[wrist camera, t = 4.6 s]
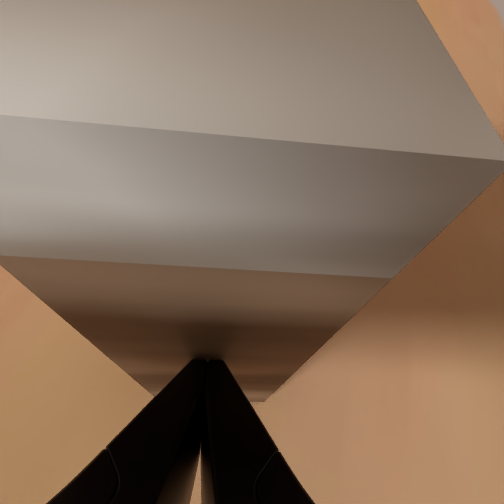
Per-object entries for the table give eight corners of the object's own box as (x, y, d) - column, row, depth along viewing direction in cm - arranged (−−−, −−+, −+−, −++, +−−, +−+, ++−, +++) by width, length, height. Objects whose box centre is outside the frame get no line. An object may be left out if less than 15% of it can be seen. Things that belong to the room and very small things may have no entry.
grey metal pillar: (263, 401, 15) (513, 160, 2) (157, 399, 15) (-195, 96, 2) (263, 304, 18) (382, -56, 5) (172, 299, 17) (58, -102, 5)
